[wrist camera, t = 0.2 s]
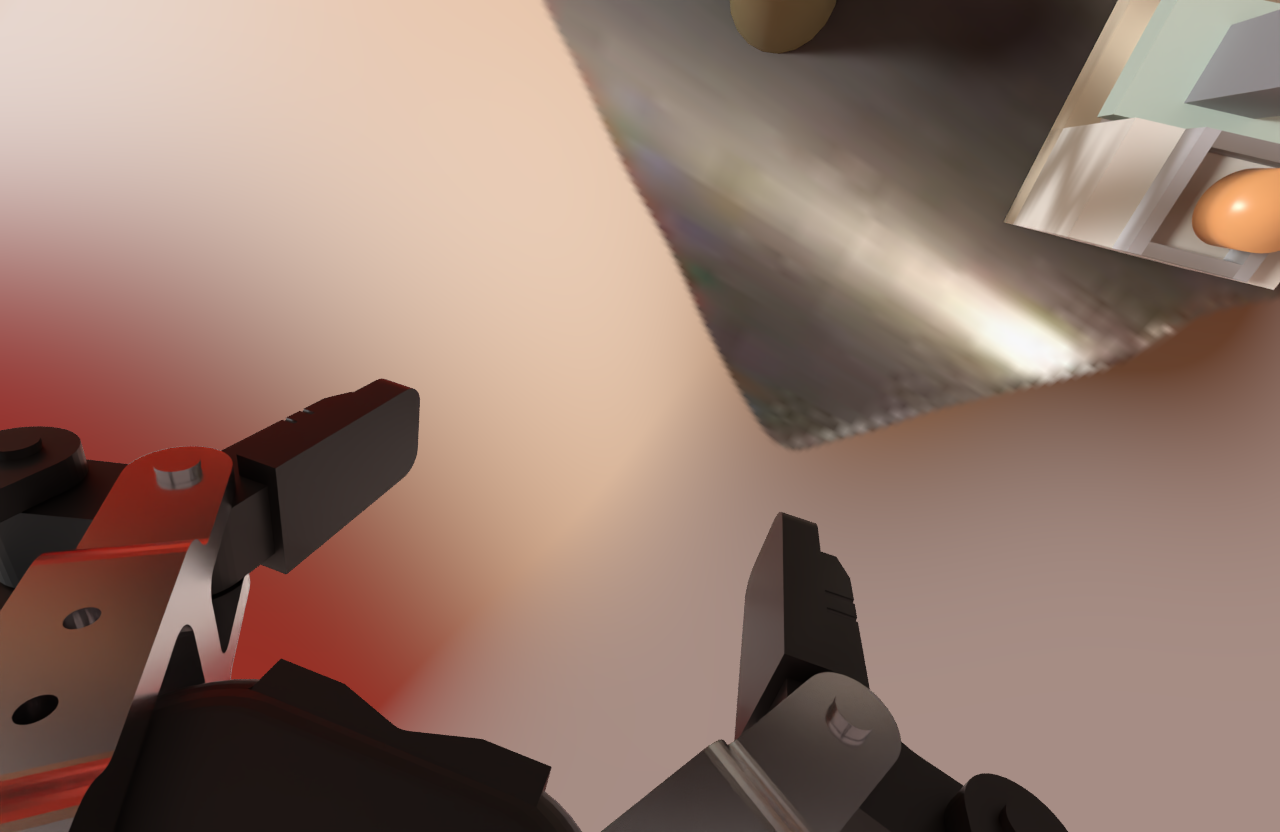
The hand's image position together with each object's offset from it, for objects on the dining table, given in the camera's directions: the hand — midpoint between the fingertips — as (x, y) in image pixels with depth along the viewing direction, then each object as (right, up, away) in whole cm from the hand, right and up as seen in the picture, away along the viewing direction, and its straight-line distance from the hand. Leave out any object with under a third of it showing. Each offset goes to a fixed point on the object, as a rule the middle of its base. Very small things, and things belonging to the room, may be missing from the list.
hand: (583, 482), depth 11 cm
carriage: (+28, +17, +14) cm, 36 cm away
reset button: (+26, +10, +10) cm, 29 cm away
